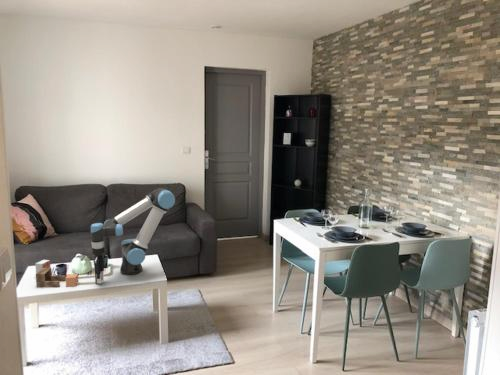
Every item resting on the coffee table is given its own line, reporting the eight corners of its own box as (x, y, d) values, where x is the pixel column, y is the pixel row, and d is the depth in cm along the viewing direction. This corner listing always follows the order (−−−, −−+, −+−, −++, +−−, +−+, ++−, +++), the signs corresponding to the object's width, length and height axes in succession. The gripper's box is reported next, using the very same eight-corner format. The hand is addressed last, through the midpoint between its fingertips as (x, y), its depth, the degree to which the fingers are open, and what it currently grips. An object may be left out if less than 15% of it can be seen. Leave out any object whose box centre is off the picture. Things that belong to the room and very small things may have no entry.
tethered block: (101, 281, 274) (100, 267, 272) (99, 285, 268) (98, 270, 266) (68, 283, 271) (67, 268, 269) (66, 286, 265) (65, 271, 263)
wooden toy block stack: (66, 280, 275) (65, 267, 274) (58, 287, 265) (57, 274, 263) (44, 280, 275) (43, 267, 274) (36, 287, 264) (35, 274, 263)
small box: (43, 278, 278) (42, 263, 276) (36, 278, 279) (34, 263, 277) (51, 274, 286) (50, 260, 284) (44, 273, 287) (43, 259, 285)
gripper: (96, 243, 275) (98, 277, 278) (87, 251, 259) (90, 286, 262) (108, 243, 275) (110, 277, 279) (99, 251, 259) (102, 286, 263)
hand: (100, 281), depth 270 cm, fingers closed on tethered block, 3 cm apart
